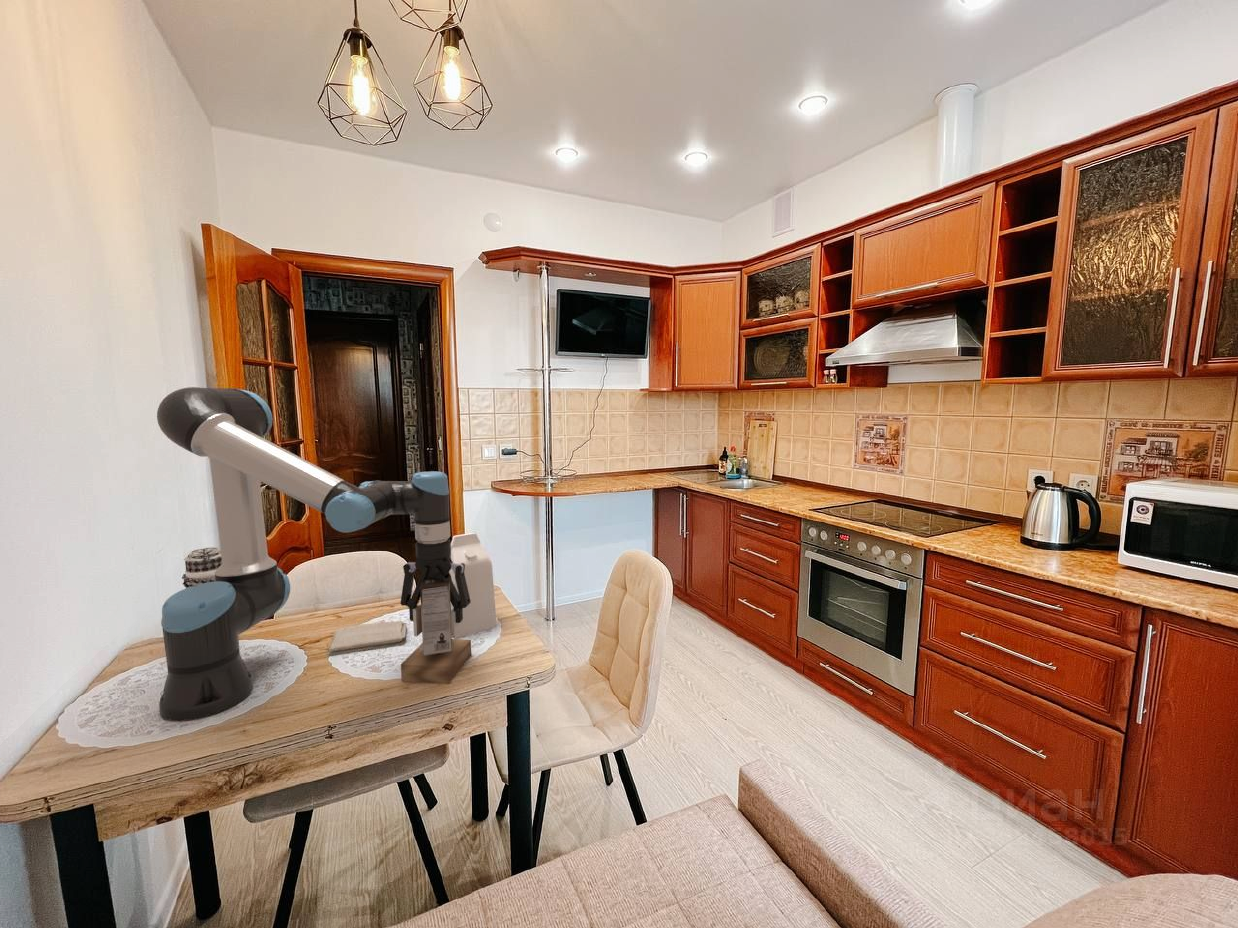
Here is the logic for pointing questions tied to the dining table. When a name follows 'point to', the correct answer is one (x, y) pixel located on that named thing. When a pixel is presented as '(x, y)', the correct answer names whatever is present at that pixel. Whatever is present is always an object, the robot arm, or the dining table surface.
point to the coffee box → (436, 616)
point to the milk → (474, 584)
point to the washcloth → (367, 637)
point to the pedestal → (436, 664)
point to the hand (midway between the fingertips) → (437, 634)
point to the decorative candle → (201, 566)
